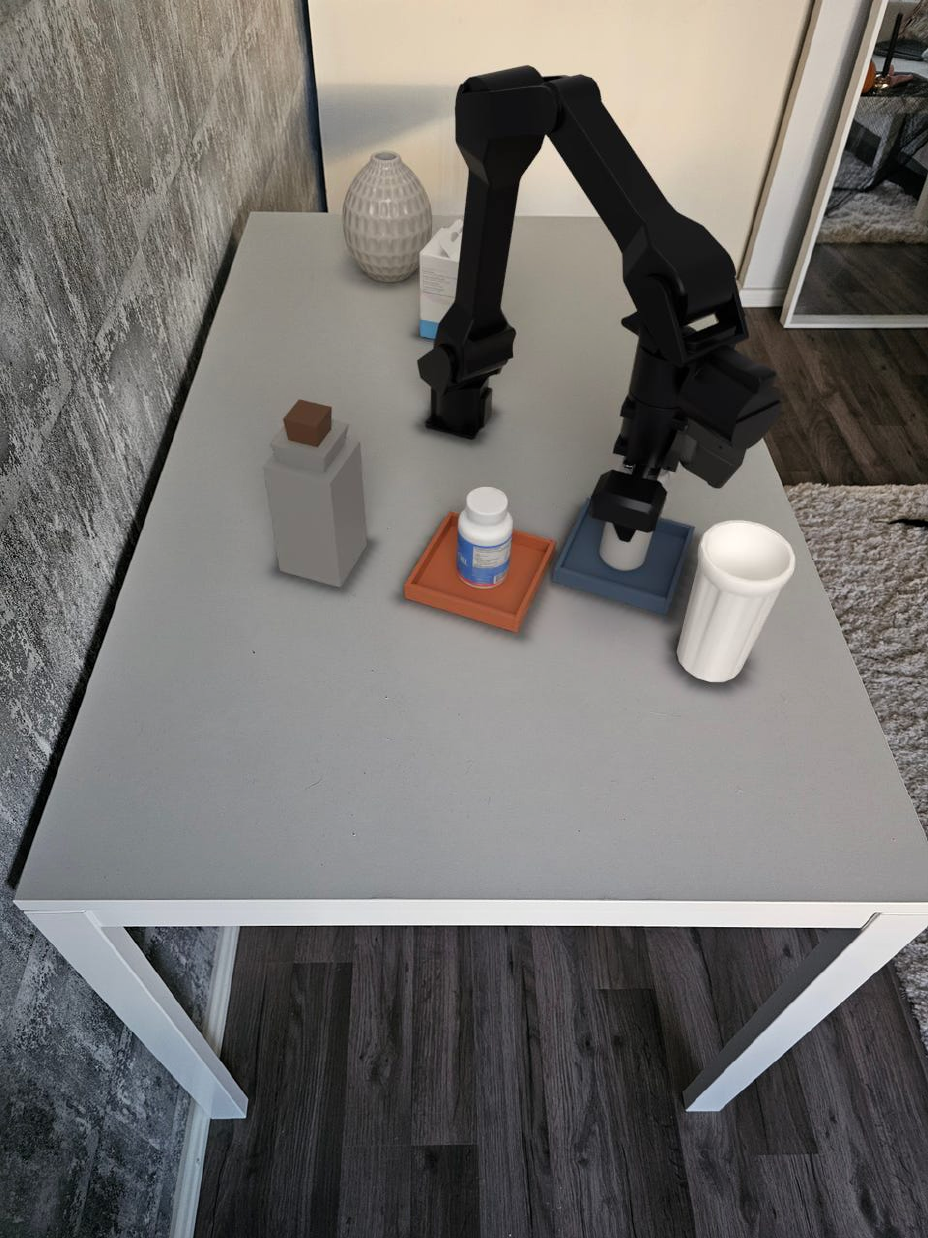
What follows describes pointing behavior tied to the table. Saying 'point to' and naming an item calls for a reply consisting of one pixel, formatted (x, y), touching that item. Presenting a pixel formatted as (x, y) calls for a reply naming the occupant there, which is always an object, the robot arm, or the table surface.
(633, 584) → the slate tray
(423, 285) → the ink box
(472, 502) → the pill bottle
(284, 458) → the perfume bottle
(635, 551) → the beverage can
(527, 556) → the terracotta tray
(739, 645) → the cup
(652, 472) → the robot arm
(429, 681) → the table surface
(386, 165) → the vase
